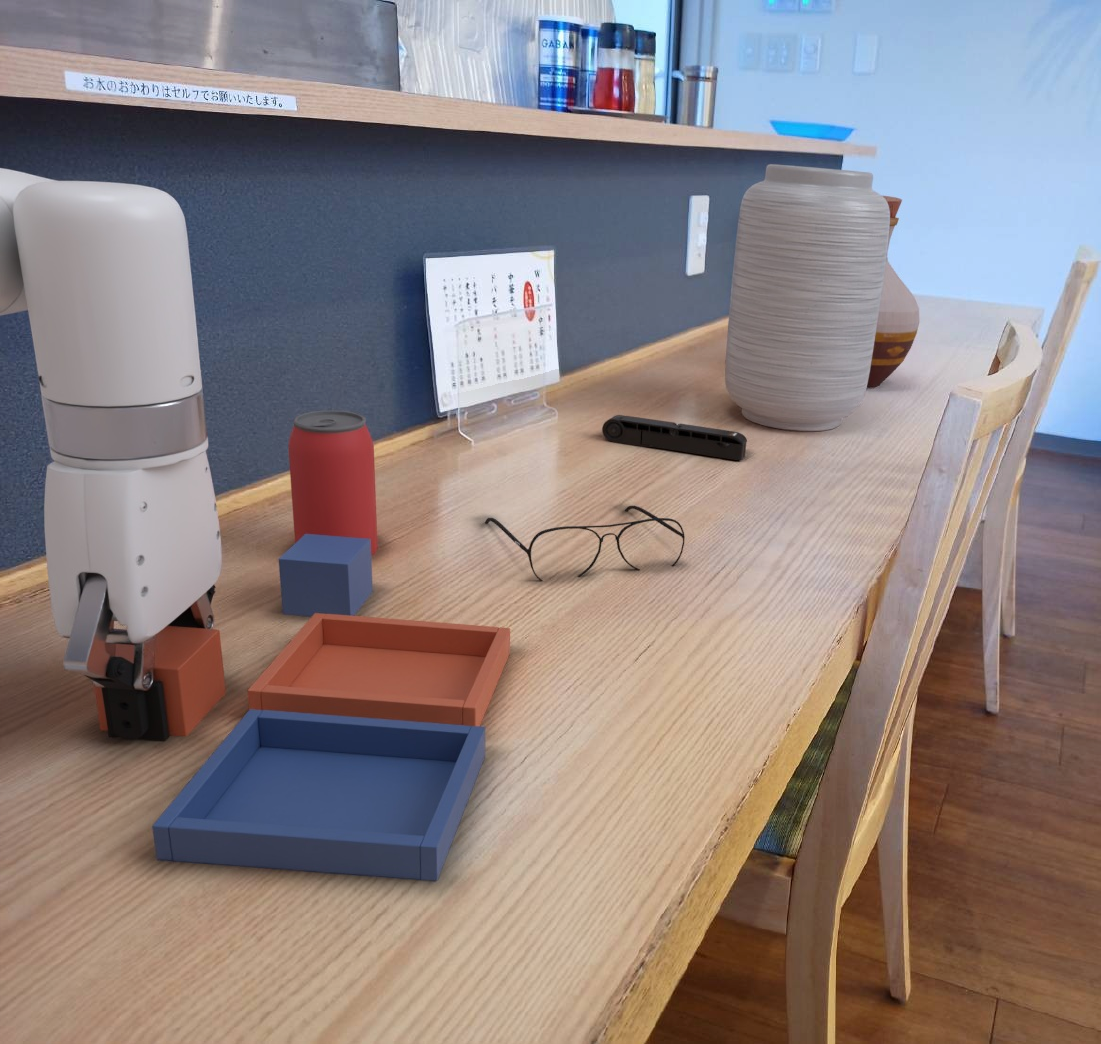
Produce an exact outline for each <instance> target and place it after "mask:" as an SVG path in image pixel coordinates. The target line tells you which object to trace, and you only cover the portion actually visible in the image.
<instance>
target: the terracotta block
mask: <svg viewBox="0 0 1101 1044" xmlns="http://www.w3.org/2000/svg"><path fill="white" fill-rule="evenodd" d="M115 657H123V658H125V659H126V660H128V661H130V662H131V663H133V664H134V645H127V644H116V651H115ZM154 681H162V683H163V691H164V699H165V706H166V714H167V722H168V730H169V736H176V737H187V736H188V735H189V734H191V732H192V731H193V730H194V729H195V727H197V726H198V724H199V723H200V722H201V721H202V720H203V718H205V717H206V716H207V715H208V713H209V712H210V711H211V710H212V709H213V708H214V706H216V704H217V703H218V702H219V701H220V700H221V699H222V698H223V697H224V696H225V695H226V693H227V691H226V682H225V672H224V661H223V651H222V642H221V632H220V629H213V628H212V629H203V628H190V627H177V626H166V627H165V628H164V629H162V630H161V631H160V632H158V633H157V634H156V639H155V663H154ZM92 684H93V689H94V697H95V703H96V708H97V709H96V710H97V715H98V721H99V729H100V731H108V728H107V721H106V714H105V708H104V701H103V695H102V688H101V687H96V686H95V685H94V683H93V682H92Z"/></svg>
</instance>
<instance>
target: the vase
mask: <svg viewBox="0 0 1101 1044" xmlns="http://www.w3.org/2000/svg"><path fill="white" fill-rule="evenodd" d="M873 181H874V174H873V173H872V172H870V171H869V172H867V171H858V170H848V169H847V170H846V169H835V168H823V167H812V166H800V165H786V164H773V163H770V164H767V165H766V167H765V176H764V180H762V181H758V182H756V183H754V184H752V185H751V186H750V187H748V189H747V190H746V191H745V193H744V194H743V197H742V199H741V203H740V207H739V215H738V220H737V229H736V238H735V247H734V256H733V267H732V278H731V289H730V301H729V310H728V311H729V312H728V323H727V336H726V349H725V363H724V364H725V367H724V381H725V383H724V384H725V388H726V390H727V393H728V395H729V398H730V399H731V400H732V401H733V402H734V403H735V404H736V405H737V406H738V407H739V408H741V414H742V416H743V417H744V418H745V419H747V420H748V421H750V422H752V423H755V424H758V425H761V426H764V427H768V428H772V429H773V428H774V429H778V430H786V431H793V432H794V431H795V432H822V431H828V430H829V431H830V430H833V429H835V428H838V427H839V426H840V425H841V424H842V421H843V419H844V418H847V417H849V416H850V415H851V414H853V413H855V411H857V409H858V408H859V407H860V405H862V402H863V401H864V399H865V396H866V392H867V389H868V388H867V384H868V378H869V373H870V367H871V361H872V354H873V348H874V341H875V335H876V328H877V321H878V314H879V307H880V300H881V293H882V285H883V278H884V270H885V262H886V255H887V256H888V253H887V247H888V237H889V226H890V210H889V206H888V203H887V201H886V200H885V198H884V197H883V196H884V195H882V194H880V193H879V192H877V191H875V190H873ZM888 248H889V247H888Z"/></svg>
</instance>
